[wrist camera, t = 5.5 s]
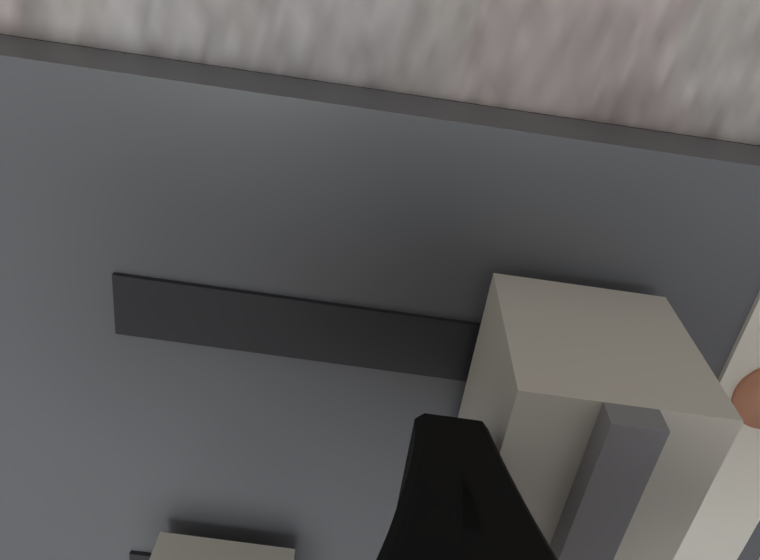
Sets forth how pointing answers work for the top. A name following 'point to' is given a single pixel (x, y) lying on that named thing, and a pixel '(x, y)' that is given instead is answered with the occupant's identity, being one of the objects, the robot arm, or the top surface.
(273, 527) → the switch board
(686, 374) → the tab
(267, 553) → the middle tab
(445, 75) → the top surface
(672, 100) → the top surface
